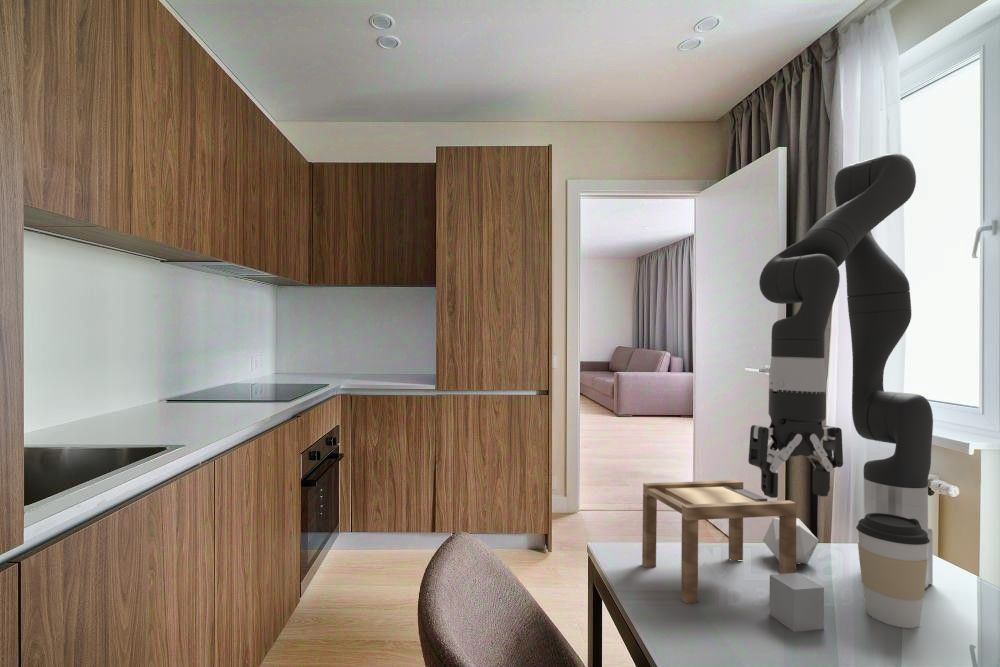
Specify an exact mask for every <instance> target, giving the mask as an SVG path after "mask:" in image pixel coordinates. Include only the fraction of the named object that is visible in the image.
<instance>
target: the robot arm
mask: <svg viewBox="0 0 1000 667" xmlns="http://www.w3.org/2000/svg"><path fill="white" fill-rule="evenodd" d="M914 166H915V165H914V163H913V161H912V160H911V159H910V158H909V157H908V155H906V154H903V153H899V152H898V153H897V152H895V153H887V154H883V155H880V156H876V157H872V158H869V159H866V160H862V161H859V162H855V163H851V164H848V165H845V166H843V167H841V168H840V169H839V170H838V171H837V173H836V175H835V177H834V178H835V179H834V200H835V205H836V207H835V209H833V210H831V211H829V212H828V213H826V214H825V215H823V216H822V217H821V218H819V220H817V221H816V222H815V223H814V225H813V226H811V227H810V229H808V230H807V232H806V233H805V235H803V237H802V238H801V239H800V240H798V241H797V242H795V243H793V244H791V245H790V246H788V247H786V248H785V249H784V250H782V251H780V252H779V253H778V254H776V255H775V256H774V257H772V258H771V259H769V261H768V262H767V263H766V264H765V266H764V267H763V268H762V271H761V274H760V275H759V282H758V284H759V290H760V293H761V294H762V295H763V297H764V298H765V299H766V300H768V301H769V302H771V303H774V304H780V305H781V304H783V305H784V304H798V303H799V304H800V303H801V304H800V307H799V308H798V311H797V312H796V313H795V314H793V315H792V316H789V317H785V318H782V319H778V320H776V321H775V322H774V323H773V325H772V326H771V343H770V344H771V347H770V348H771V349H770V350H771V354H770V356H771V358H770V364H769V372H768V416H769V418H770V425H769V426H768V427H767V426H762V425H759V424H758V425H755V424H753V425H751V426H750V431H749V432H750V434H749V446H748V447H749V448H748V464H750V465H751V466H755V467H757V468H759V469H760V473H761V476H760V477H761V478H760V479H761V480H760V481H761V483H760V486H761V487H760V488H761V491H762V492H763V494H764V496H766V497H768V498H770V499H771V498H772V499H775V498H776V499H777V498H778V496H779V473H778V472H777V470H778V469H779V468H780V467H781V465H782V463H783V462H786V461H788V460H789V457H799V456H802V457H803V456H804V457H806V458H808V459H809V462H810V463H811V464H812V466H813V469H812V492H813V494H814V495H816V496H818V497H819V496H820V497H828V496H829V493H830V489H831V472H832V471H833V469H835V468H842V467H843V465H844V457H843V455H844V454H843V449H844V448H843V431H842V430H843V429H842V428H841V427H836V426H832V425H828V424H827V425H823V424H822V422H824V421H826V419H827V418H826V417H827V369H826V364H825V346H826V344H825V342H826V341H825V340H826V338H825V336H826V335H825V332H826V328H827V326H828V325H827V324H828V321H829V318H830V315H831V314H830V313H831V311H832V307H833V305H834V302H835V300H836V297H837V293H838V289H839V286H840V279H841V278H840V277H841V276H840V269H839V267H840V266H841V265H843V263H844V266H845V275H846V276H845V277H846V298H847V300H846V301H847V312H848V319H849V320H848V321H849V327H850V328H849V330H850V336H851V337H850V338H851V352H852V354H851V355H852V378H851V379H852V380H851V382H852V383H851V384H852V385H851V386H852V387H851V388H852V390H851V410H852V411H851V413H852V414H851V415H852V422H853V426H854V429H855V431H856V432H857V434H858V435H859V436H860V437H862V438H863V439H865V440H869V441H870V440H871V441H876V442H880V443H881V442H882V443H886V444H887V443H889V444H895V450H894V453H893V454H892V455H891V456H889V457H887V458H883V459H873V460H869V461H866V462H864V465H863V518H864V517H865V516H866V515H867V514H869V513H884V514H891V515H896V516H901V517H905V518H908V519H912V518H914V519H917V520H918V521H919V523H920V526H921V528H922V529H923V530H924V531H926V532H927V534H928V538H929V540H930V542H929V543H928V548H927V557H928V563H927V572H926V581H925V589H927V588H928V587H929V585H933V583H934V582H933V581H934V578H933V574H934V573H933V569H934V568H933V564H934V563H933V561H934V560H933V552H934V551H933V550H934V549H933V546H934V545H933V541H934V540H933V533H934V532H933V530H932V528H930V527H929V474H930V471H931V467H932V466H931V465H932V444H933V443H932V442H933V433H934V432H933V430H934V417H933V410H932V407H931V404H930V402H929V401H928V399H927V398H926V397H925V396H923V395H921V394H919V393H918V394H917V393H907V392H894V391H885V389H884V374H885V367H886V364H887V361H889V360H888V359H889V357H890V356H891V354H892V352H893V350H894V349H895V347H897V345H898V343H899V342H900V340H901V339H902V338H903V336H904V335H905V333H906V332H907V329H908V327H909V325H910V323H911V320H912V302H911V291H910V290H911V287H910V282H909V280H908V278H907V276H906V274H905V273H904V272H903V270H902V269H901V268H900V266H898V264H897V263H895V261H894V260H893V259H892V258H891V257H890V256H889V254H887V253H886V252H885V250H883V249H882V247H881V246H880V245H879V244H878V241H876V239H875V237H874V236H873V233H872V230H873V229H874V228H876V227H877V226H878V225H879V224H881V222H883V221H884V220H886V219H887V218H888V217H889V216H890V215H892V214H893V213H895V211H897V210H898V209H899V208H900V207H902V206H904V204H906V203H907V202H908V201H909V200H910V199H911V197H912V195H913V194H914V191H915V188H916V183H917V174H916V170H915V167H914ZM770 440H771V441H770ZM769 441H770V442H769ZM821 441H822V444H821Z"/></svg>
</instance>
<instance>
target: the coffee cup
mask: <svg viewBox="0 0 1000 667" xmlns="http://www.w3.org/2000/svg"><path fill="white" fill-rule="evenodd" d="M855 529H856V530H857V534H858V543H857V550H858V556H859V557H858V560H859V568H860V569H859V570H860V578H861V583H862V588H863V591H862V592H863V599H864V611H865V612H866V614H867V615H868V616H870V617H871V616H872V618H873V617H874V618H873V619H875V618H876V619H875V620H877V621H879V620H880V621H879V622H881V621H882V622H881V623H884V624H886V625H889V626H893V627H897V628H902V629H916V628H918V627H920V626H921V620H922V610H923V600H924V598H925V589H926V588H925V581H926V572H927V563H928V557H927V548H928V543H929V542H930V540H929V538H928V534H927V532H926V531H924V530H923V529H922V528H921V526H920V523H919V521H918V520H917V519H914V518H912V519H908V518H905V517H901V516H896V515H891V514H884V513H869V514H867V515H866V516H865V517H864V516H863V518H861V519H860V520H858V524H857V525H856V526H855Z"/></svg>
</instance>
